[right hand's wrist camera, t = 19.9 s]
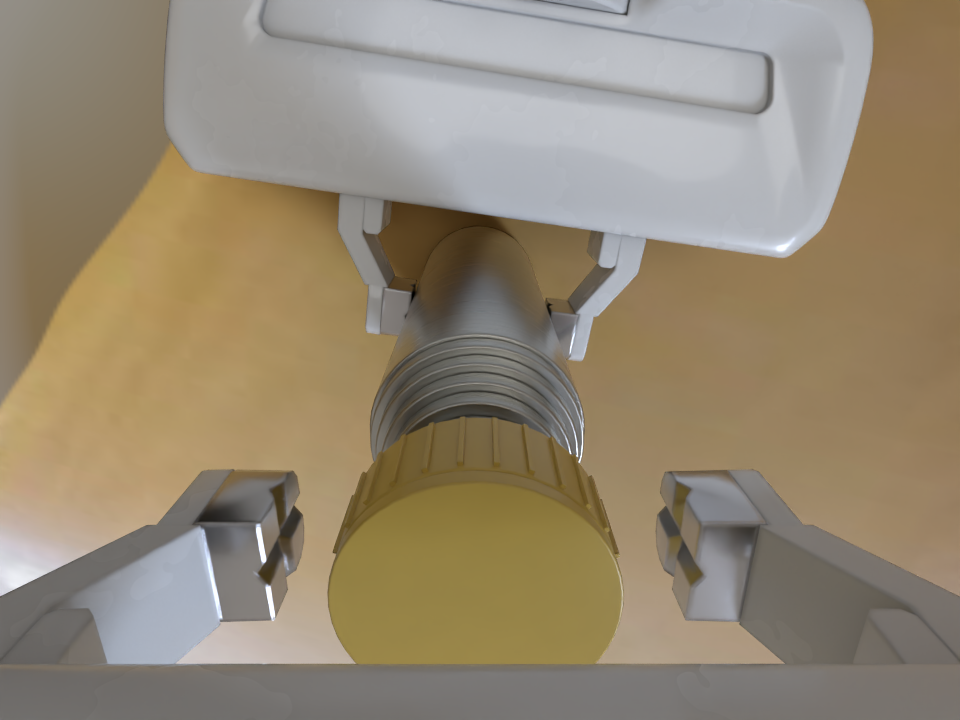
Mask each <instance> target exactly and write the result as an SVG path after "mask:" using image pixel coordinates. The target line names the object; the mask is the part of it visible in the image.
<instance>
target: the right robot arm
mask: <svg viewBox="0 0 960 720" xmlns="http://www.w3.org/2000/svg"><path fill="white" fill-rule="evenodd" d="M299 494H300V491H299V484H298V478H297V475H296V474H295V473H294V471H277V470H234V469H221V470H205V471H202V472H201V473H200V474H199V475H198V476H197V477H196V479H195V480H194V481H193V482H192V483H191V485H190V486H189V487H188V488H187V489H186V491H185V492H184V493H183V494H182V495H181V496H180V498H179V499H178V500H177V501H176V502H175V504H174V505H173V506H172V507H171V508H170V510H169V511H168V512H167V513H166V514H165V515H164V517H163V518H162V519H161V520H160V521H159V523H158V524H157V525H146V526H144V527H142V528H140V529H138V530H136V531H134V532H132V533H130V534H128V535H125V536H123V537H121V538H119V539H117V540H115V541H113V542H111V543H109V544H107V545H105V546H103V547H101V548H99V549H97V550H95V551H93V552H91V553H88V554H86V555H84V556H82V557H80V558H78V559H76V560H74V561H72V562H70V563H68V564H66V565H64V566H62V567H60V568H58V569H56V570H54V571H52V572H49V573H47V574H45V575H43V576H41V577H39V578H37V579H35V580H33V581H31V582H29V583H27V584H25V585H23V586H21V587H19V588H17V589H15V590H13V591H10V592H8V593H6V594H4V595H2V596H0V720H960V597H959V596H957V595H955V594H953V593H951V592H949V591H947V590H945V589H943V588H941V587H939V586H937V585H935V584H933V583H931V582H929V581H927V580H925V579H923V578H921V577H919V576H916V575H914V574H912V573H910V572H908V571H906V570H904V569H902V568H900V567H898V566H896V565H894V564H892V563H890V562H888V561H886V560H884V559H882V558H880V557H878V556H876V555H873V554H871V553H869V552H867V551H865V550H863V549H861V548H859V547H857V546H855V545H853V544H851V543H849V542H847V541H845V540H843V539H841V538H839V537H837V536H835V535H832V534H830V533H828V532H826V531H824V530H822V529H820V528H818V527H816V526H814V525H803V524H802V523H801V521H800V520H799V519H798V518H797V517H796V515H795V514H794V513H793V512H792V511H791V510H790V508H789V507H788V506H787V505H786V504H785V502H784V501H783V500H782V499H781V498H780V496H779V495H778V494H777V493H776V492H775V491H774V489H773V488H772V487H771V486H770V485H769V483H768V482H767V481H766V480H765V479H764V477H763V476H762V475H761V474H760V473H759V472H758V471H756V470H753V469H741V470H711V471H671V472H665V474H664V476H663V479H662V484H661V491H660V494H661V496H662V498H663V500H664V502H665V504H666V506H665V507H664V508H663V509H662V510H661V511H660V513H659V514H658V515H657V523H656V543H657V550H658V554H659V559H660V561H661V564H662V566H663V569H664V570H665V571H666V572H667V573H669V574H670V575H672V576H673V577H674V580H673V588H672V590H673V592H674V595H675V597H676V599H677V602H678V604H679V606H680V608H681V611H682V613H683V615H684V618H685V620H692V621H728V622H740V625H741V626H742V627H743V628H745V629H746V630H747V631H748V632H749V633H750V634H751V635H753V636H754V637H755V638H756V639H757V640H758V641H760V642H761V643H762V644H763V645H764V646H765V647H767V648H768V649H769V650H770V651H771V652H772V653H774V654H775V655H776V656H777V657H778V658H779V659H781V660H782V661H783V662H784V663H785V664H175V663H176V662H177V661H179V660H180V659H181V658H182V657H183V656H184V655H186V654H187V653H188V652H189V651H190V650H191V649H193V648H194V647H195V646H196V645H197V644H198V643H200V642H201V641H202V640H203V639H204V638H205V637H207V636H208V635H209V634H210V633H211V632H212V631H214V630H215V629H216V628H217V627H218V626H219V625H220V622H231V621H266V620H275V618H276V616H277V613H278V611H279V609H280V606H281V604H282V602H283V599H284V597H285V595H286V592H287V590H288V587H287V580H286V577H287V576H288V575H290V574H291V573H293V572H294V571H295V570H296V569H297V566H298V564H299V561H300V559H301V555H302V549H303V544H304V522H303V515H302V514H301V512H300V511H299V510H298V509H297V508H296V507H295V506H294V504H295V502H296V500H297V498H298V496H299Z"/></svg>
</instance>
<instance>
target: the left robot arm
mask: <svg viewBox="0 0 960 720" xmlns="http://www.w3.org/2000/svg"><path fill="white" fill-rule="evenodd" d="M872 57H873V27H872V21H871V17H870V13H869V10H868V7H867V5H866V3H865V1H864V0H170V3H169V12H168V20H167V33H166V45H165V62H164V92H163V115H164V126H165V131H166V134H167V136H168V138H169V139H170V141H171V142H172V144H173V145H174V146H175V148H176V149H177V151H178V152H179V154H180V155H181V157H182V158H183V159H184V161H185V162H186V163H187V164H188V166H189V167H190V168H191V169H192V170H194V171H196V172H200V173H206V174H212V175H219V176H226V177H232V178H239V179H246V180H253V181H259V182H266V183H273V184H280V185H287V186H293V187H300V188H307V189H314V190H321V191H327V192H334V193H340V195H339V213H338V232H339V234H340V236H341V238H342V240H343V242H344V244H345V246H346V248H347V250H348V252H349V254H350V256H351V258H352V260H353V262H354V264H355V266H356V268H357V270H358V272H359V274H360V276H361V278H362V280H363V282H364V284H366V285H369V286H368V300H367V313H366V326H365V327H366V332H368V333H374V334H379V335H380V334H384V335H392V336H399V334H400V332H401V329H402V326H403V324H404V321H405V319H406V316H407V313H408V311H409V308H410V306H411V303H412V300H413V298H414V295H415V292H416V284H417V280H414V279H408V278H402V277H396V276H395V274H394V272H393V269H392V267H391V265H390V263H389V260H388V258H387V256H386V253H385V251H384V249H383V246H382V244H381V242H380V240H379V237H378V234H379V233H380V232H381V231H382V230H383V229H384V228H385V227H386V226H387V225H389V224H390V220H391V209H392V201H395V202H402V203H409V204H416V205H422V206H429V207H436V208H443V209H450V210H456V211H463V212H470V213H477V214H484V215H490V216H497V217H504V218H511V219H518V220H524V221H531V222H538V223H545V224H552V225H558V226H565V227H572V228H579V229H585V230H591V233H590V238H589V243H588V248H587V252H588V254H589V255H590V256H591V257H592V258H593V259H594V260H595V262H596V263H597V265H596V266H595V267H594V268H593V269H592V271H591V272H590V273H589V274H588V275H587V277H586V278H585V279H584V280H583V281H582V283H581V284H580V285H579V286H578V287H577V289H576V290H575V291H574V292H573V293H572V295H571V296H570V297H569V298H568V301H567V300H558V299H550V298H546V301H545V304H546V307H547V310H548V313H549V316H550V318H551V321H552V324H553V327H554V329H555V332H556V335H557V338H558V340H559V343H560V346H561V349H562V351H563V354H564V357H565V359H566V360H567V359H568V360H574V361H582V360H583V358H584V356H585V353H586V348H587V344H588V339H589V335H590V331H591V326H592V322H593V317H598V316H599V314H600V313H601V312H602V311H603V310H604V309H605V308H606V307H607V306H608V305H609V304H610V303H611V302H612V301H613V299H614V298H615V297H616V296H617V295H618V294H619V293H620V292H621V291H622V290H623V289H624V288H625V287H626V286H627V284H628V283H629V282H630V281H631V280H632V279H633V278H634V277H635V276H636V275H637V274H638V271H639V267H640V263H641V259H642V255H643V251H644V247H645V243H646V239H653V240H660V241H667V242H674V243H681V244H687V245H694V246H701V247H708V248H714V249H721V250H728V251H735V252H742V253H748V254H755V255H762V256H769V257H776V258H786V257H788V256H790V255H791V254H793V253H794V252H796V251H797V250H798V249H800V248H801V247H802V246H803V245H804V244H806V243H807V242H808V241H809V240H810V239H811V238H813V237H814V236H815V235H816V234H817V233H818V232H819V231H820V230H821V229H822V227H823V226H824V224H825V222H826V220H827V218H828V216H829V214H830V211H831V209H832V206H833V204H834V201H835V198H836V195H837V192H838V189H839V186H840V183H841V180H842V177H843V174H844V171H845V168H846V165H847V161H848V158H849V155H850V151H851V148H852V144H853V141H854V137H855V133H856V130H857V126H858V122H859V118H860V115H861V111H862V106H863V102H864V98H865V94H866V89H867V85H868V80H869V75H870V70H871V64H872Z"/></svg>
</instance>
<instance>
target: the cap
mask: <svg viewBox="0 0 960 720" xmlns="http://www.w3.org/2000/svg"><path fill="white" fill-rule="evenodd" d="M333 553H336V557H335V560H334V563H333V566H332V569H331V573H330V576H329V584H328V608H329V612H330V617H331V621H332V624H333V627H334V629H335V632H336V634H337V637H338V638H339V640H340V642H341V644H342V645H343V647H344V649H345V650H346V652H347V653H348V654H349V655H350V657H351V658H352V659H353V660H354V662H355V663H356V664H595V663H596V662H597V661H598V660H599V659H600V658H601V656H602V655H603V654H604V652H605V651H606V650H607V648H608V647H609V645H610V643H611V641H612V639H613V638H614V636H615V634H616V631H617V628H618V625H619V623H620V619H621V614H622V609H623V596H624V589H623V582H622V576H621V572H620V569H619V566H618V562H617V559H616V558H619V557H620V555H619V551H618V548H617V545H616V542H615V539H614V536H613V533H612V530H611V527H610V524H609V520H608V517H607V514H606V511H605V508H604V505H603V502H602V499H600V497H599V494H598V491H597V488H596V485H595V482H594V479H593V477H592V476H589V477H588V475H587V473H586V472H585V470H584V469H583V468H582V466H581V465H580V464H579V460H578V457H577V456H576V455H575V454H574V455H571V454H570V453H569V452H568V451H567V450H566V449H564V448H563V447H562V446H561V445H559V444H558V443H557V442H556V439H555V438H554V437H552V436H551V437H550V438H549V437H547V436H545V435H544V434H542V433H540V432H538V431H536V430H533V429H531V428H529V427H528V425H526V424H523V425H520V424H517V423H513V422H510V421H504V420H499V419H497V417H492V418H465V416H464V417H460V419H453V420H448V421H443V422H439V423H436V424H434V422H432V423H429V426H426V427H423V428H421V429H419V430H417V431H415V432H412V433H410V434H408V435H407V436H406V434H404V435H402V436H401V438H400V440H399V441H397V442H395V443H394V444H393V445H392V446H390V447H389V448H388V449H387V450H386V451H384V452H382V451H380V452H379V453H378V455H377V458H376V461H375V462H374V463H373V464H372V465H371V467H370V468H369V470H368V471H367V473H365V472H363V473H362V474H361V477H360V480H359V483H358V486H357V489H356V492H355V494H354V495H352V497H351V500H350V503H349V506H348V508H347V511H346V514H345V517H344V520H343V523H342V526H341V529H340V532H339V535H338V537H337V540H336V543H335V546H334V549H333Z"/></svg>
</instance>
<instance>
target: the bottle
mask: <svg viewBox="0 0 960 720" xmlns="http://www.w3.org/2000/svg"><path fill="white" fill-rule="evenodd" d="M464 416H465V418H492V417H497V419H499V420H504V421H510V422H513V423H517V424H520V425H523V424H526V425H528V427H529V428H531V429H533V430H536V431H538V432H540V433H542V434H544V435H545V436H547V437H549V438H550V437H551V436H552V437H554V438H555V439H556V442H557V443H558V444H559V445H561V446H562V447H563V448H564V449H566V450H567V451H568V452H569V453H570V454H571V455H574V454H575V455H576V456H577V457H578V460H579V464H580V462H581V458H582V455H583V447H584V433H585V425H584V414H583V409H582V405H581V402H580V399H579V396H578V393H577V390H576V387H575V385H574V382H573V379H572V376H571V374H570V371H569V368H568V365H567V363H566V360H565V357H564V354H563V351H562V349H561V346H560V343H559V340H558V338H557V335H556V332H555V329H554V327H553V324H552V321H551V318H550V316H549V313H548V310H547V307H546V304H545V302H544V299H543V296H542V293H541V291H540V288H539V285H538V282H537V280H536V277H535V274H534V271H533V268H532V266H531V263H530V260H529V258H528V256H527V254H526V252H525V251H524V249H523V248H522V247H521V245H520V244H519V243H518V242H517V241H516V240H514V239H513V238H512V237H511V236H509V235H508V234H506V233H504V232H502V231H500V230H497V229H494V228H490V227H482V226H475V227H468V228H463V229H460V230H458V231H455V232H453V233H451V234H450V235H448V236H447V237H445V238H444V239H443V240H442V241H441V242H440V243H439V244H438V245H437V246H436V247H435V248H434V250H433V251H432V253H431V255H430V257H429V259H428V261H427V264H426V266H425V269H424V272H423V274H422V277H421V279H420V282H419V285H418V287H417V290H416V292H415V295H414V298H413V300H412V303H411V306H410V308H409V311H408V313H407V316H406V319H405V321H404V324H403V326H402V329H401V332H400V334H399V337H398V339H397V342H396V345H395V347H394V350H393V352H392V355H391V358H390V360H389V363H388V366H387V368H386V371H385V373H384V376H383V379H382V381H381V384H380V386H379V389H378V392H377V394H376V397H375V399H374V403H373V407H372V411H371V418H370V440H371V451H372V456H373V461H374V462H375V461H376V458H377V455H378V453H379V452H380V451H382V452H384V451H386V450H387V449H388V448H389V447H390V446H392V445H393V444H394V443H395V442H397V441H399V440H400V438H401V436H402V435H404V434H406V436H407V435H408V434H410V433H412V432H415V431H417V430H419V429H421V428H423V427H426V426H429V423H432V422H434V424H436V423H439V422H443V421H448V420H453V419H460V417H464Z"/></svg>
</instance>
